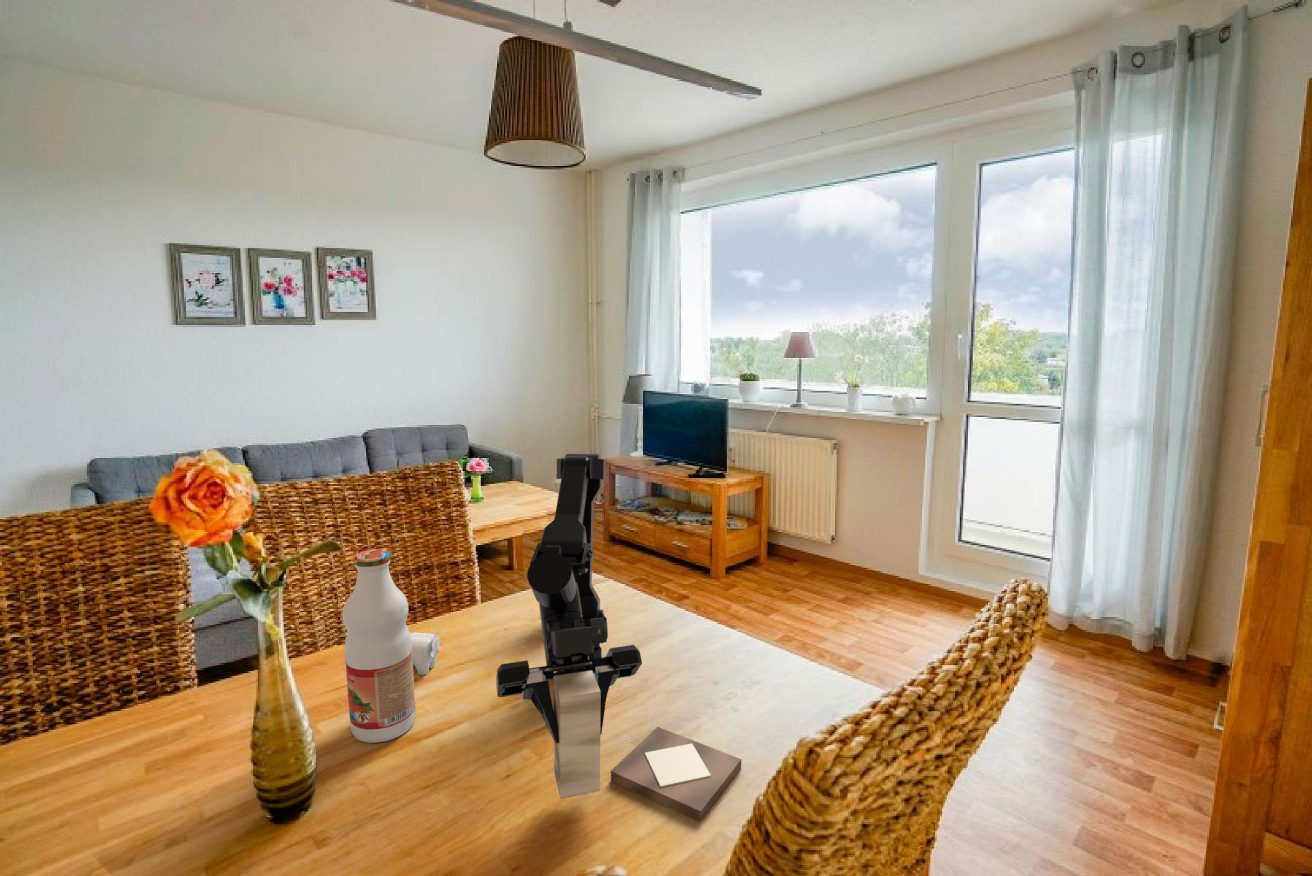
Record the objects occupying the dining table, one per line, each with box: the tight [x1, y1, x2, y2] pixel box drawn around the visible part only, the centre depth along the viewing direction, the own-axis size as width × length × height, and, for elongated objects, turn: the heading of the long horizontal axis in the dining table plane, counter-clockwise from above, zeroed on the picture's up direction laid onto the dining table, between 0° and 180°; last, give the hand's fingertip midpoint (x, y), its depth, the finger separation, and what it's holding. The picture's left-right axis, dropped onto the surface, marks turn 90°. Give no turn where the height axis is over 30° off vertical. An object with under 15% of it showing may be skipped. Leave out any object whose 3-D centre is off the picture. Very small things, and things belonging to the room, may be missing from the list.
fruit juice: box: [342, 548, 417, 744], centre depth 101 cm, size 9×9×28 cm
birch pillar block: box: [553, 671, 601, 800], centre depth 85 cm, size 5×5×14 cm
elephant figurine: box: [410, 631, 443, 676], centre depth 120 cm, size 8×10×7 cm
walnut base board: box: [610, 726, 742, 822], centre depth 92 cm, size 14×12×2 cm
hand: (578, 739), depth 84 cm, fingers closed on birch pillar block, 5 cm apart
